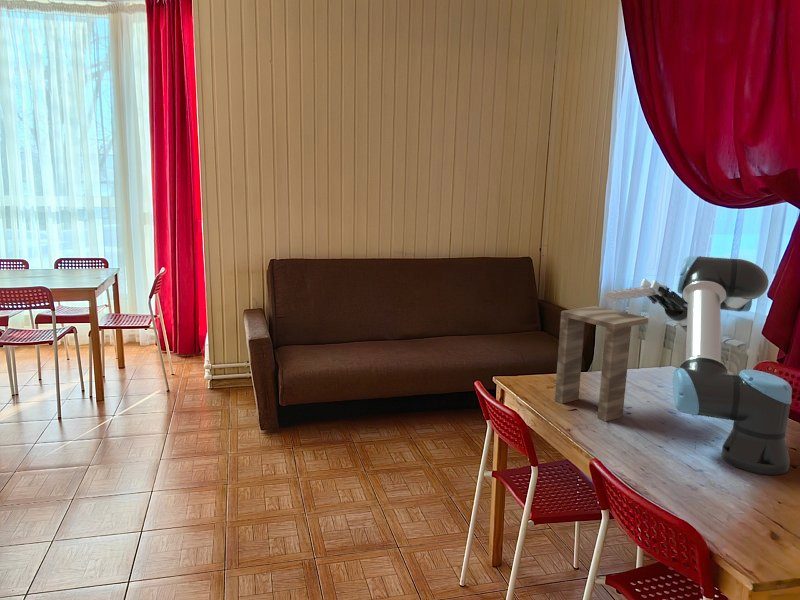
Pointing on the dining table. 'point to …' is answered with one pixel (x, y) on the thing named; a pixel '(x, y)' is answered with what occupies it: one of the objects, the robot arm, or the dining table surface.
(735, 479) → the dining table surface
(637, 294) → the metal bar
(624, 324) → the striped wooden stand
